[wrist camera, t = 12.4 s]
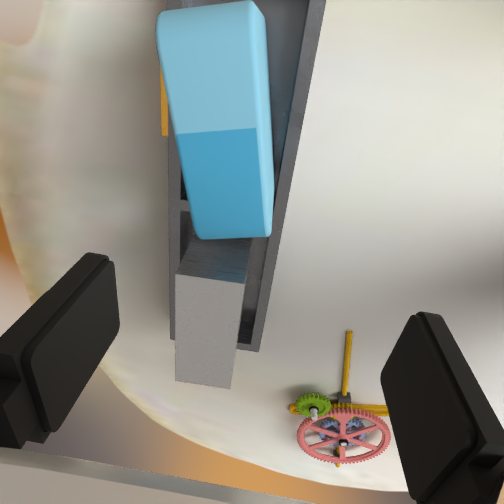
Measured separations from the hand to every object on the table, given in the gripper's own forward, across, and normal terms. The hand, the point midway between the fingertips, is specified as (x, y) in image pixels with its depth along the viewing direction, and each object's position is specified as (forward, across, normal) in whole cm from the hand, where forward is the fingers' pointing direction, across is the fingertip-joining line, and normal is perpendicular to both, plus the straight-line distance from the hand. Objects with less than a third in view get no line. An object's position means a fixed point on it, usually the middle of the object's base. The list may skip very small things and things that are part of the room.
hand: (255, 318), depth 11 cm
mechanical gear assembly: (+23, -15, +35) cm, 45 cm away
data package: (+21, +4, -3) cm, 22 cm away
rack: (+22, +4, +5) cm, 23 cm away
